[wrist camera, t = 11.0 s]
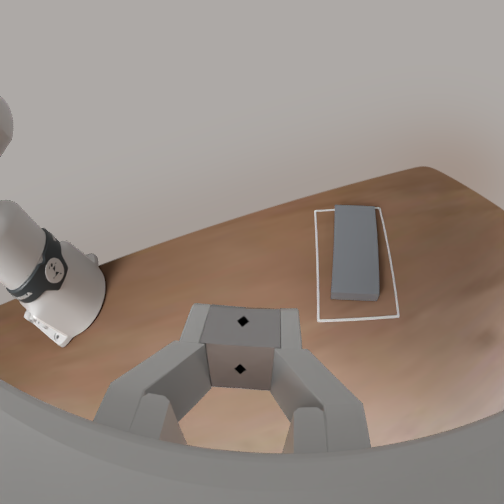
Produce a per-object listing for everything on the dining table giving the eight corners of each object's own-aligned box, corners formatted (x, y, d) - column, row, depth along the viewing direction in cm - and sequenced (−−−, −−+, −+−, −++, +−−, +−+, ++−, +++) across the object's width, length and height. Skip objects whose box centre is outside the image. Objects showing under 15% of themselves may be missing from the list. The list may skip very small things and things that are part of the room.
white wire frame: (317, 322, 34) (314, 210, 44) (317, 323, 35) (314, 212, 44) (399, 317, 32) (380, 207, 41) (398, 318, 32) (379, 209, 42)
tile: (331, 292, 34) (334, 204, 41) (330, 300, 36) (334, 215, 43) (379, 294, 32) (374, 206, 39) (376, 302, 34) (372, 217, 41)
